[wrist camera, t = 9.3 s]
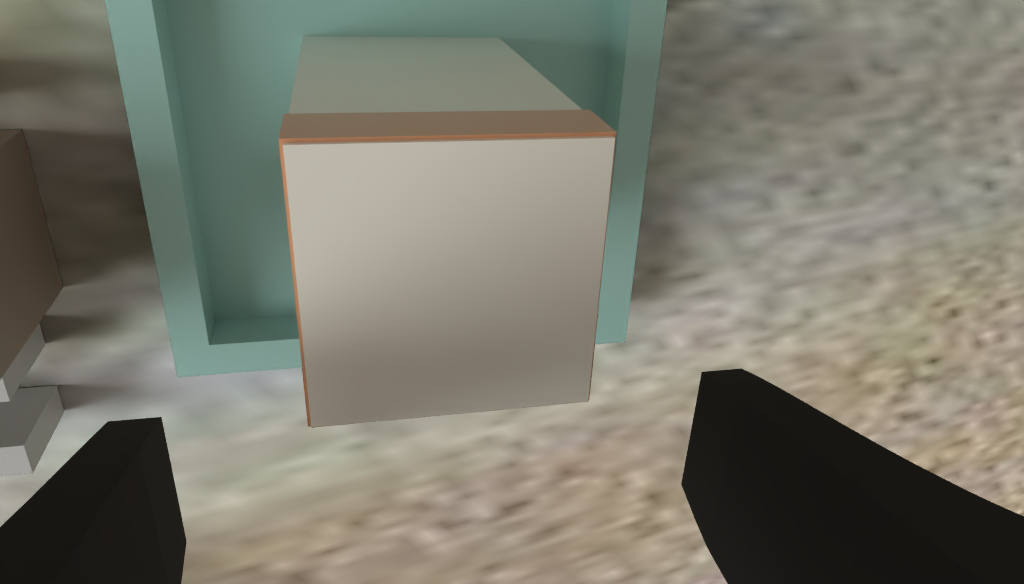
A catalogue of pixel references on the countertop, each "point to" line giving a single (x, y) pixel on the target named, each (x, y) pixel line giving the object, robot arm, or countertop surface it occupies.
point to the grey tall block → (440, 229)
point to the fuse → (22, 250)
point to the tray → (267, 96)
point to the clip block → (26, 413)
